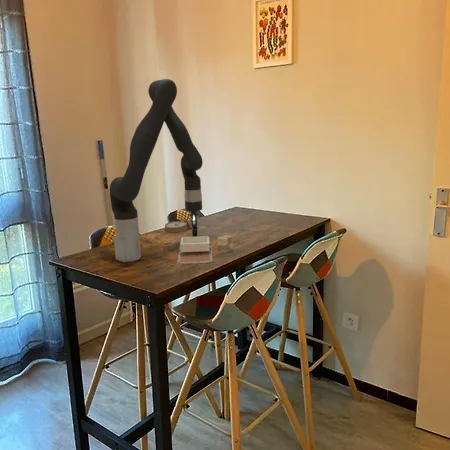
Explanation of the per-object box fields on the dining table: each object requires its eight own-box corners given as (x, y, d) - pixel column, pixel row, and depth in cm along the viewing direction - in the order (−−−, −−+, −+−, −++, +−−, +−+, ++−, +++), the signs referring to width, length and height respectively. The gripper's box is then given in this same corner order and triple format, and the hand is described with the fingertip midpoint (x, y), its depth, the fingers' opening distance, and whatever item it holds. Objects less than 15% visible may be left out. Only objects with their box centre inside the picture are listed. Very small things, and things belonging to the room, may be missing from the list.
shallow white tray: (180, 245, 206) (180, 237, 205) (210, 244, 206) (210, 235, 205) (179, 253, 194) (178, 244, 193) (211, 252, 195) (210, 243, 194)
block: (225, 252, 196) (225, 238, 194) (218, 250, 199) (217, 237, 197) (233, 250, 199) (232, 236, 197) (225, 248, 202) (224, 235, 200)
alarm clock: (159, 226, 233) (177, 215, 244) (161, 235, 235) (178, 224, 246) (177, 228, 227) (194, 217, 239) (179, 238, 229) (196, 226, 241)
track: (180, 246, 207) (180, 245, 207) (211, 244, 208) (211, 243, 208) (177, 263, 183) (177, 262, 183) (212, 262, 183) (212, 261, 183)
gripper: (185, 197, 211) (186, 234, 215) (184, 202, 199) (186, 242, 203) (201, 196, 212) (203, 233, 216) (202, 201, 199) (203, 241, 203)
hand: (195, 237), depth 209 cm, fingers closed
